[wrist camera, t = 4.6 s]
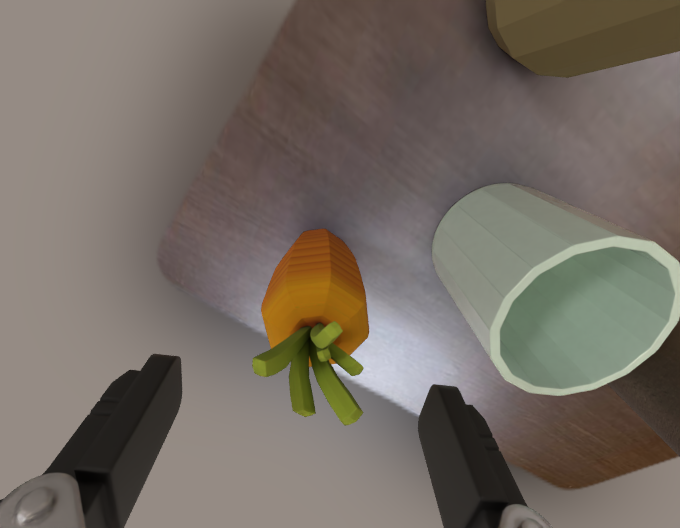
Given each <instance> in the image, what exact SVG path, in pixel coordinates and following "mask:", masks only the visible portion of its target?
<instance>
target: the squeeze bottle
mask: <svg viewBox="0 0 680 528" xmlns="http://www.w3.org/2000/svg"><path fill="white" fill-rule="evenodd" d="M486 10H487V19H488V28H489V30H490V32H491V34H492V35H493V37H494V39H495V41H496V43H497V45H498V46H499V47H500V48H501V49H502V50H504V51H505V52H506V53H507V54H509V55H510V56H511V57H512V58H514V59H515V60H516V61H518V62H519V63H521V64H522V65H524V66H525V67H527V68H528V69H530V70H531V71H533V72H534V73H536V74H537V75H544V76H555V77H566V78H568V77H573V76H577V75H581V74H585V73H589V72H594V71H598V70H602V69H606V68H610V67H614V66H619V65H623V64H627V63H631V62H635V61H640V60H644V59H648V58H652V57H656V56H661V55H665V54H669V53H673V52H677V51H680V0H486Z"/></svg>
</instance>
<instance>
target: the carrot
mask: <svg viewBox="0 0 680 528" xmlns="http://www.w3.org/2000/svg"><path fill="white" fill-rule="evenodd" d="M261 312H262V317H263V320H264V324H265V328H266V332H267V335H268V339H269V343H270V347H271V349H270V350H269V351H267V352H264V353H262V354H260V355H258V356H256V357H254V358H253V365H252V366H253V369H254V373H256V374H257V375H259V376H264V377H268V376H271V375H274V374H276V373H278V372H279V371H281V370H283V369H284V368H286V367H287V365H288V364H289V362H291V367H290V373H289V384H290V396H291V402H292V408H293V411H294V412H296V413H298V414H300V415H302V416H304V417H307V416H311V415H313V414H315V413H316V412H315V406H314V401H313V395H312V390H311V384H310V379H309V367H312V368H313V370H314V374H315V376H316V379H317V382H318V384H319V386H320V388H321V390H322V391H323V393H324V395H325V397H326V399H327V401H328V402H329V404H330V405H331V407H332V409H333V410H334V412H335V413H336V415H337V416H338V418H339V419H340V421H341V422H342V423H343V424H344V425H349V424H352V423H354V422H356V421H357V420H358V419H359V417H360V416H361V415H362V414H363V411H362V410H361V408H360V407H359V405H358V404H357V402H356V401H355V399H354V398H353V396H352V395H351V393H350V392H349V391H348V389H347V388H346V387H345V386H344V384H343V383H342V381H341V380H340V379H339V377H338V376H337V374H336V372H335V371H334V369H333V367H332V365H331V364H338V365H339V366H340V367H342V368H343V369H344V370H345V371H346V372H348V373H349V374H350V375H351V376H355V375H359V374H360V373H361V372H362V370H363V366H362V365H361V364H359V363H358V362H357V361H356V360H355V359H353V358H352V357H351V356H350V355H351V354H352V353H353V352H354V351H355V350H356V349H357V348H358V347H359V346H360V345H361V344H362V343H363V342H364V341H365V340H366V339H367V338H368V334H369V324H368V314H367V304H366V295H365V289H364V286H363V282H362V278H361V274H360V271H359V268H358V265H357V262H356V259H355V257H354V255H353V254H352V252H351V251H350V249H349V248H348V247H347V245H346V244H345V243H344V242H343V241H342V240H341V239H339V238H338V237H336V236H335V235H334V234H332V233H331V232H329V231H328V230H327V229H317V230H309V231H305V232H303V233H302V234H301V235H300V236H299V238H298V239H297V240H296V242H295V243H294V244H293V245H292V247H291V248H290V249H289V251H288V252H287V253H286V254H285V256H284V257H283V258H282V260H281V261H280V263H279V264H278V266H277V267H276V269H275V271H274V274H273V276H272V278H271V281H270V283H269V286H268V289H267V292H266V294H265V297H264V300H263V303H262V307H261Z"/></svg>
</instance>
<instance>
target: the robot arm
mask: <svg viewBox="0 0 680 528" xmlns="http://www.w3.org/2000/svg"><path fill="white" fill-rule="evenodd" d="M181 399H182V374H181V359H180V357H178V356H169V355H160V354H153V355H151V356H150V358H149V359H148V360H147V362H146V363H145V365H144V366H143V368H142V369H141V371H136V370H129V371H127V372H126V373H125V374H123V375H122V376H120V377H119V378H118V379H116V380H115V381H114V382H112V383H111V385H110V386H109V388H108V389H107V390H106V391H105V393H104V394H103V395H102V397H101V399H100V401H98V402H97V404H96V405H95V406H94V408H93V409H92V410H91V413H90V415H88V416H87V417H86V418H85V420H84V421H83V422H82V424H81V425H80V426H79V428H78V429H77V431H76V432H75V433H74V434H73V436H72V437H71V438H70V440H69V441H68V442H67V444H66V445H65V447H64V448H63V449H62V451H61V452H60V453H59V454H58V456H57V457H56V458H55V460H54V461H53V463H52V464H51V465H50V467H49V468H48V469H47V470H46V471H45V473H43V474H42V475H41V476H38V477H36V478H33V479H31V480H29V481H27V482H25V483H24V484H22V485H20V486H19V487H17V488H16V489H14V490H13V491H12V492H11V493H10V494H8V495H7V496H6V497H5V498H4V499H2V500H0V528H124V526H125V524H126V522H127V520H128V518H129V515H130V513H131V511H132V509H133V507H134V505H135V503H136V501H137V498H138V496H139V494H140V492H141V490H142V488H143V485H144V484H145V481H146V479H147V477H148V475H149V473H150V471H151V469H152V466H153V464H154V462H155V460H156V458H157V456H158V454H159V451H160V449H161V447H162V445H163V443H164V441H165V439H166V437H167V434H168V432H169V430H170V428H171V426H172V424H173V421H174V419H175V417H176V415H177V413H178V410H179V407H180V404H181ZM418 432H419V438H420V441H421V445H422V449H423V452H424V456H425V460H426V463H427V467H428V471H429V474H430V478H431V482H432V486H433V489H434V493H435V497H436V500H437V504H438V508H439V511H440V515H441V518H442V522H443V526H444V528H552V526H551V525H550V524H549V523H548V522H547V520H546V519H545V518H544V517H542V516H541V515H540V514H539V513H537V512H536V511H534V510H533V509H531V508H529V507H528V506H527V504H526V503H525V501H524V499H523V497H522V495H521V493H520V491H519V489H518V486H517V485H516V482H515V480H514V478H513V476H512V474H511V472H510V470H509V468H508V466H507V464H506V462H505V460H504V458H503V456H502V454H501V452H500V451H499V447H498V445H497V443H496V441H495V439H494V438H492V433H491V431H490V429H489V427H488V425H487V423H486V421H485V419H484V418H483V417H482V416H481V414H480V413H479V412H478V411H477V410H476V409H475V408H474V407H473V406H472V405H466V404H465V402H464V400H463V397H462V395H461V393H460V391H459V389H458V388H457V387H454V386H445V385H435V384H434V385H432V386H431V388H430V390H429V393H428V395H427V398H426V400H425V403H424V406H423V408H422V411H421V413H420V416H419V421H418Z"/></svg>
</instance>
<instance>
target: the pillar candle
mask: <svg viewBox="0 0 680 528" xmlns="http://www.w3.org/2000/svg"><path fill="white" fill-rule="evenodd" d="M607 384H608V385H609V386H610V387H611V388H612V389H613V390H614V391H615V392H616V393H617V394H618V395H619V396H620V397H621V398H622V399H623V400H624V401H625V402H626V403H627V404H628V405H629V406H630V407H631V408H632V409H633V410H634V411H635V412H636V413H637V414H638V415H639V416H640V417H641V418H642V419H643V420H644V421H645V422H646V423H647V424H648V425H649V426H650V427H651V428H652V429H653V430H654V431H655V432H656V433H657V434H658V435H659V436H660V437H661V438H662V439H663V440H664V441H665V442H666V443H667V444H668V445H669V446H670V447H671V448H672V449H673V450H674V451H675V452H676V453H677V454H678V455H679V456H680V318H679V321H678V323H677V324H676V326H675V327H674V329H673V330H672V331H671V333H670V334H669V335H668V337H667V338H666V340H665V341H664V342H663V344H662V345H661V346H660V348H659V349H658V350H657V351H656V352H655V353H654V354H653V355H651V356H650V357H649V358H648V359H646V360H645V361H644V362H642V363H641V364H640V365H639V366H637V367H636V368H635V369H634V370H632V371H631V372H630V373H628V374H627V375H625V376H623V377H620V378H618V379H616V380H614V381H612V382H609V383H607Z"/></svg>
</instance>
